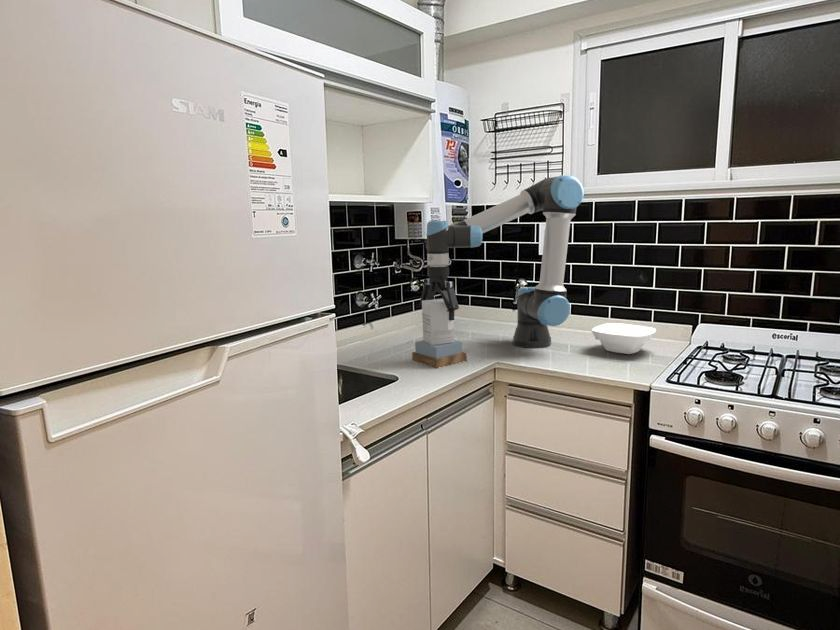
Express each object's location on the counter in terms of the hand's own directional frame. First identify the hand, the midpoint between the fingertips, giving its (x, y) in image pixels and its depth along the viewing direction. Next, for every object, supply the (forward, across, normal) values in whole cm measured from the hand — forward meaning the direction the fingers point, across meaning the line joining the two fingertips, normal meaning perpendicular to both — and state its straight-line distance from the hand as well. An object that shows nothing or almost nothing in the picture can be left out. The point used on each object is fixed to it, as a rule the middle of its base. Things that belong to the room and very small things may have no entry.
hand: (439, 326), depth 190 cm
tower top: (+10, 0, 0) cm, 10 cm away
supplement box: (+6, 0, 0) cm, 6 cm away
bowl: (+13, +36, +59) cm, 70 cm away
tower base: (+14, 0, 0) cm, 14 cm away
